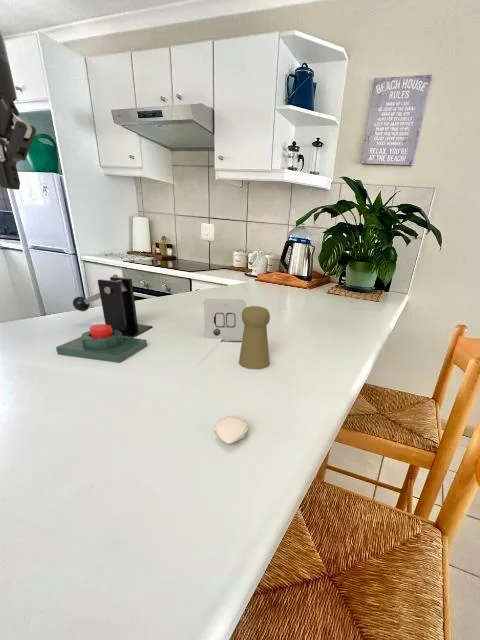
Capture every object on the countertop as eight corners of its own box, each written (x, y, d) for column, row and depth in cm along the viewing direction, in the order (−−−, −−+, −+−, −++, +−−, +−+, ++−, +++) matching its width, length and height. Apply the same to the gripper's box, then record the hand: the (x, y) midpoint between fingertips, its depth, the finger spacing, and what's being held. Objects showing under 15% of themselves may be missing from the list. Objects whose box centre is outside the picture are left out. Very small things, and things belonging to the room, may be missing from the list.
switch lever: (75, 314, 71) (66, 301, 69) (85, 311, 73) (76, 298, 72) (121, 294, 67) (112, 279, 66) (129, 291, 70) (121, 277, 69)
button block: (58, 358, 58) (53, 337, 56) (92, 342, 66) (88, 323, 64) (120, 367, 57) (117, 345, 55) (147, 350, 65) (145, 330, 63)
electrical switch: (204, 342, 72) (203, 299, 68) (205, 336, 76) (203, 296, 73) (246, 342, 74) (247, 301, 70) (244, 337, 79) (245, 298, 75)
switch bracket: (90, 335, 70) (79, 279, 64) (113, 325, 77) (105, 274, 71) (134, 341, 69) (126, 284, 63) (153, 330, 76) (147, 278, 70)
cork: (248, 371, 60) (249, 312, 55) (233, 359, 64) (233, 304, 59) (275, 365, 63) (279, 309, 58) (259, 355, 67) (261, 302, 62)
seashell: (249, 428, 43) (249, 413, 42) (246, 452, 39) (246, 435, 38) (217, 427, 43) (216, 411, 42) (210, 451, 39) (209, 434, 37)
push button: (86, 337, 59) (84, 328, 58) (99, 332, 62) (97, 323, 61) (105, 340, 58) (103, 330, 57) (117, 334, 61) (115, 325, 61)
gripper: (38, 67, 51) (62, 194, 58) (-37, 63, 52) (-3, 188, 59) (-9, 42, 44) (26, 190, 52) (-93, 38, 45) (-47, 182, 53)
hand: (10, 188), depth 56 cm, fingers closed
